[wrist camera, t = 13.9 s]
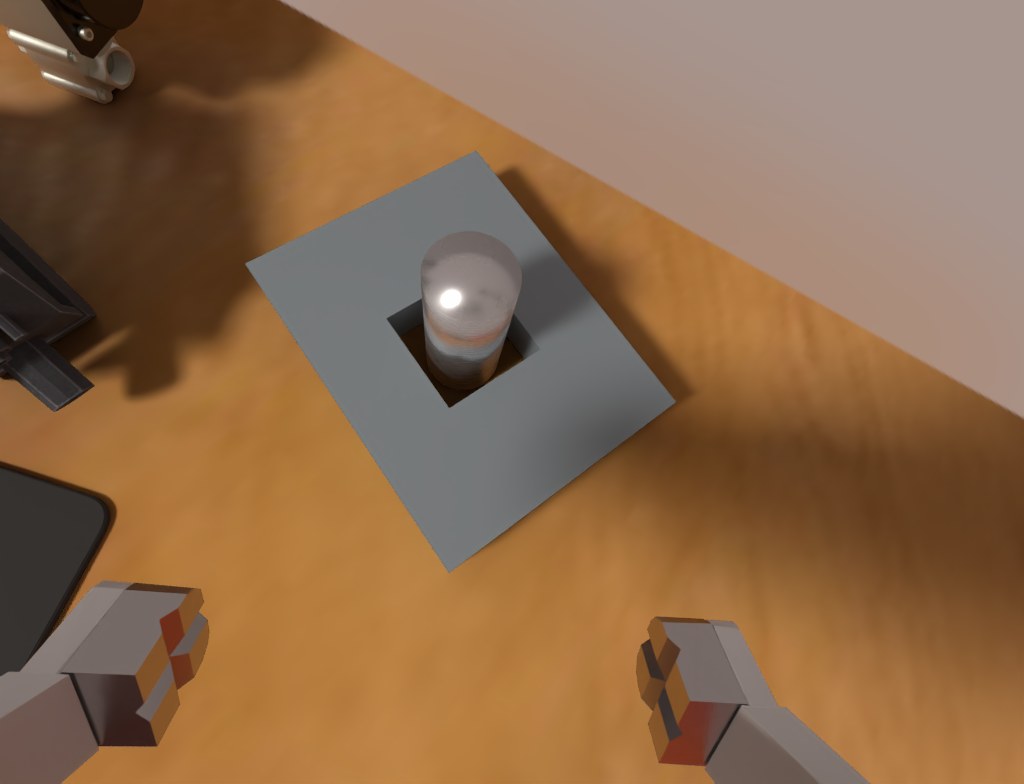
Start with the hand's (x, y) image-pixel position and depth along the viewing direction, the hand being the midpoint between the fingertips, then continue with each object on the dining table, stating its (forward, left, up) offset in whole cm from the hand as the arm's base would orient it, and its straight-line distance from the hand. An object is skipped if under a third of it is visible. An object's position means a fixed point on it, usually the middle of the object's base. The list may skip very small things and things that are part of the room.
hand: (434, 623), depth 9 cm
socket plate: (+9, -7, -17) cm, 20 cm away
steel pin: (+9, -7, -17) cm, 20 cm away
